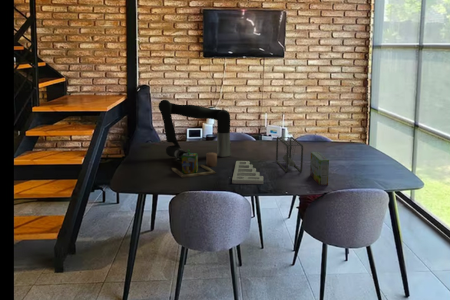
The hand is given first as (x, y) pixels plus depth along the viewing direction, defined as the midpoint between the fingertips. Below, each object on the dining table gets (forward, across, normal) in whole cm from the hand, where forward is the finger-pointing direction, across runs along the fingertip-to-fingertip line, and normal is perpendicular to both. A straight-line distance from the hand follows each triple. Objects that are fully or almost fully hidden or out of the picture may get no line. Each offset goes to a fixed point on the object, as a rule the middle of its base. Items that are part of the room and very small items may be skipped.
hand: (190, 160), depth 284 cm
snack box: (+52, +61, +6) cm, 81 cm away
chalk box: (+4, -2, +6) cm, 8 cm away
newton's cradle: (+19, +62, +6) cm, 65 cm away
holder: (+22, +30, +7) cm, 38 cm away
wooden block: (-6, +17, +6) cm, 19 cm away
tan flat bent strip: (+4, 0, +6) cm, 8 cm away
